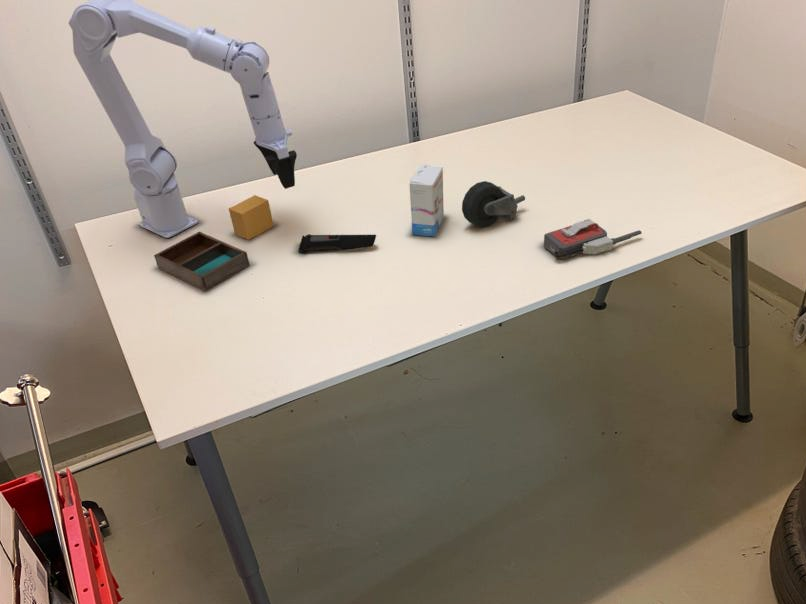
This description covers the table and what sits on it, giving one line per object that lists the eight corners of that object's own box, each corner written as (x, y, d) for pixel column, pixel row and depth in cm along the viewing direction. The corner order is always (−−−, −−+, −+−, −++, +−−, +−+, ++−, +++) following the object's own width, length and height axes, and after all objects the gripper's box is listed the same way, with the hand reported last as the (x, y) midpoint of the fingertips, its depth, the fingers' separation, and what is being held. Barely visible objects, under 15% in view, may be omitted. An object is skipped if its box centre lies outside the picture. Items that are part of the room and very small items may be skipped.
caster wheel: (475, 239, 148) (532, 211, 154) (471, 198, 141) (530, 171, 147) (460, 228, 152) (516, 201, 157) (454, 187, 145) (513, 161, 151)
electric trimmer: (376, 253, 143) (375, 239, 141) (297, 254, 143) (295, 240, 140) (378, 243, 146) (376, 229, 144) (301, 244, 145) (298, 230, 143)
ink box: (435, 237, 147) (432, 184, 139) (411, 235, 148) (407, 182, 140) (445, 217, 153) (443, 165, 146) (422, 215, 154) (419, 163, 146)
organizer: (158, 268, 139) (153, 255, 137) (203, 244, 146) (199, 231, 144) (205, 291, 133) (201, 278, 131) (249, 265, 140) (246, 252, 138)
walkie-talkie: (561, 268, 138) (643, 240, 145) (563, 248, 135) (646, 221, 143) (536, 247, 144) (616, 221, 151) (537, 227, 141) (618, 202, 148)
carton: (235, 234, 148) (228, 208, 145) (260, 220, 153) (254, 194, 149) (248, 240, 147) (241, 214, 143) (274, 226, 151) (268, 200, 147)
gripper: (296, 119, 132) (314, 187, 141) (274, 97, 142) (292, 161, 151) (258, 129, 130) (279, 198, 139) (239, 106, 140) (259, 171, 149)
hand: (283, 179), depth 145 cm, fingers open, 7 cm apart
